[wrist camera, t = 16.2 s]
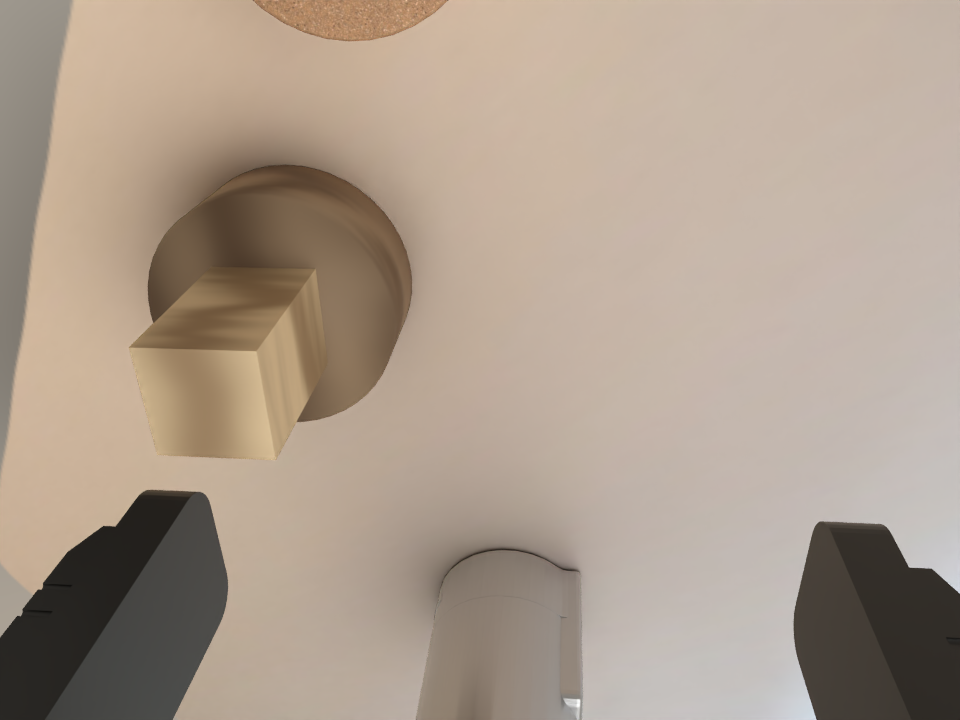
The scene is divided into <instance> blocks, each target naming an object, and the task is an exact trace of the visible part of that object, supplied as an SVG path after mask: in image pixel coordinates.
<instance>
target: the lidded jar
mask: <svg viewBox="0 0 960 720" xmlns="http://www.w3.org/2000/svg"><path fill="white" fill-rule="evenodd" d="M253 1H254V2H255V3H256V4H257V5H259V6H260V7H261V8H262V9H263V10H265V11H266V12H268V13H269V14H271V15H272V16H274V17H275V18H277V19H278V20H280V21H281V22H283V23H285V24H287V25H290V26H292V27H294V28H296V29H298V30H300V31H302V32H305V33H308V34H312V35H315V36H319V37H322V38H326V39H334V40H342V41H362V40H373V39H378V38H382V37H386V36H390V35H394V34H396V33H399V32H401V31H403V30H406V29H408V28H410V27H413V26H415V25H416V24H418V23H419V22H421V21H422V20H424V19H425V18H427V17H429V16H430V15H432V14H433V13H435V12H436V11H437V10H438V9H439V8H440V7H441V6H442V5H443V4H444V3H446V2H447V1H448V0H253Z"/></svg>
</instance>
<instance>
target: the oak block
mask: <svg viewBox="0 0 960 720" xmlns="http://www.w3.org/2000/svg"><path fill="white" fill-rule="evenodd" d="M129 350H130V354H131V358H132V361H133V365H134V369H135V373H136V376H137V380H138V384H139V388H140V391H141V395H142V399H143V403H144V406H145V410H146V414H147V418H148V421H149V425H150V429H151V433H152V437H153V440H154V444H155V448H156V452H157V455H168V456H191V457H215V458H238V459H261V460H276V459H277V457H278V455H279V453H280V451H281V450H282V448H283V446H284V444H285V442H286V440H287V438H288V437H289V435H290V433H291V431H292V429H293V427H294V425H295V424H296V422H297V420H298V418H299V416H300V414H301V412H302V411H303V409H304V407H305V405H306V403H307V401H308V399H309V398H310V396H311V394H312V392H313V390H314V388H315V386H316V385H317V383H318V381H319V379H320V377H321V375H322V373H323V372H324V370H325V368H326V366H327V364H328V361H327V353H326V345H325V337H324V330H323V322H322V314H321V306H320V299H319V291H318V283H317V275H316V269H297V268H246V267H211V268H209V269H208V270H207V271H206V272H205V273H204V274H203V275H202V276H201V277H200V278H199V279H198V280H197V281H196V282H195V283H194V284H193V285H192V286H191V287H190V288H189V289H188V290H187V291H186V292H185V293H184V294H183V295H182V296H181V297H180V298H179V299H178V300H177V301H176V302H175V303H174V304H173V305H172V306H171V307H170V308H169V309H168V310H167V311H166V312H165V313H164V314H163V315H162V316H161V317H159V318H158V319H157V320H156V321H155V322H154V323H153V324H152V325H151V326H150V327H149V328H148V329H147V330H146V331H145V332H144V333H143V334H142V335H141V336H140V337H139V338H138V339H137V340H136V341H135V342H134V343H133V344H132V345H131V346H130V347H129Z"/></svg>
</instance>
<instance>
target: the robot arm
mask: <svg viewBox="0 0 960 720" xmlns="http://www.w3.org/2000/svg"><path fill="white" fill-rule="evenodd" d="M227 594H228V579H227V572H226V568H225V564H224V560H223V556H222V551H221V547H220V543H219V539H218V535H217V531H216V526H215V522H214V518H213V514H212V510H211V506H210V502H209V500H208V498H207V497H206V495H205V494H203V493H201V492H186V491H163V490H146V491H144V492H143V493H141V494H140V495H139V496H138V497H137V499H136V500H135V501H134V503H133V504H132V505H131V507H130V508H129V509H128V511H127V512H126V513H125V515H124V516H123V517H122V519H121V520H120V522H119V523H118V524H117V526H116V527H112V526H103V527H101V528H100V529H99V530H97V531H96V532H95V533H93V534H92V535H90V536H89V537H88V538H86V539H85V540H84V541H82V542H81V543H79V544H78V545H77V546H75V547H74V548H73V549H71V550H70V551H68V552H67V554H66V555H65V556H64V557H63V559H62V560H61V561H60V562H59V564H58V565H57V566H56V567H55V569H54V570H53V571H52V573H51V574H50V575H49V576H48V578H47V579H46V580H45V581H44V583H43V588H42V590H37V592H36V593H35V594H34V595H33V597H32V598H31V599H30V600H29V602H28V603H27V604H26V606H25V607H24V608H23V613H22V615H21V616H17V617H16V618H15V619H14V621H13V622H12V623H11V625H10V626H9V627H8V628H7V630H6V631H5V632H4V633H3V635H2V636H1V637H0V720H173V718H174V716H175V714H176V712H177V710H178V708H179V706H180V703H181V701H182V699H183V697H184V695H185V693H186V691H187V689H188V687H189V685H190V683H191V681H192V679H193V677H194V675H195V673H196V671H197V669H198V667H199V665H200V663H201V661H202V659H203V657H204V655H205V653H206V651H207V649H208V647H209V645H210V643H211V641H212V639H213V637H214V635H215V633H216V630H217V628H218V626H219V624H220V622H221V620H222V617H223V614H224V611H225V607H226V602H227ZM794 640H795V647H796V653H797V657H798V661H799V664H800V668H801V671H802V674H803V677H804V680H805V684H806V687H807V690H808V693H809V697H810V700H811V703H812V706H813V709H814V713H815V716H816V719H817V720H960V594H959V593H958V592H957V591H956V590H955V589H954V588H953V587H951V586H950V585H949V584H948V583H947V582H946V581H945V580H944V579H942V578H941V577H940V576H939V575H938V574H937V573H936V572H935V571H934V570H932V569H925V568H909V567H908V565H907V563H906V561H905V559H904V557H903V555H902V553H901V551H900V549H899V548H898V546H897V544H896V542H895V540H894V538H893V536H892V534H891V533H890V531H889V530H888V529H887V527H885V526H884V525H882V524H866V523H844V522H819V523H817V525H816V526H815V528H814V530H813V534H812V537H811V542H810V546H809V550H808V554H807V559H806V563H805V567H804V572H803V576H802V580H801V584H800V589H799V593H798V597H797V601H796V606H795V612H794ZM582 708H583V673H582V621H581V575H580V573H579V572H576V571H566V570H562V569H560V568H558V567H556V566H555V565H553V564H552V563H550V562H548V561H547V560H545V559H542V558H540V557H537V556H535V555H532V554H528V553H524V552H519V551H509V550H497V551H488V552H483V553H480V554H476V555H473V556H471V557H469V558H467V559H465V560H463V561H461V562H460V563H458V564H457V565H456V566H455V567H454V568H452V569H451V570H450V572H449V573H448V574H447V576H446V577H445V578H444V581H443V583H442V586H441V589H440V594H439V599H438V603H437V606H436V611H435V617H434V625H433V631H432V636H431V641H430V646H429V652H428V657H427V662H426V668H425V673H424V678H423V683H422V689H421V694H420V699H419V705H418V710H417V715H416V720H582Z"/></svg>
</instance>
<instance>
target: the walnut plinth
mask: <svg viewBox="0 0 960 720" xmlns="http://www.w3.org/2000/svg"><path fill="white" fill-rule="evenodd" d="M211 267H246V268H297V269H316V275H317V283H318V291H319V299H320V306H321V314H322V322H323V330H324V337H325V345H326V353H327V361H328V364H327V366H326V368H325V370H324V372H323V373H322V375H321V377H320V379H319V381H318V383H317V385H316V386H315V388H314V390H313V392H312V394H311V396H310V398H309V399H308V401H307V403H306V405H305V407H304V409H303V411H302V412H301V414H300V416H299V418H298V420H297V422H305V421H312V420H318V419H322V418H325V417H329V416H332V415H334V414H337V413H339V412H342V411H344V410H346V409H347V408H349V407H351V406H352V405H354V404H356V403H357V402H358V401H359V400H361V399H362V398H363V397H364V396H366V395H367V394H368V392H369V391H370V390H371V389H372V388H373V387H374V386H375V385H376V383H377V382H378V380H379V379H380V377H381V376H382V374H383V372H384V370H385V368H386V366H387V363H388V361H389V359H390V356H391V354H392V351H393V349H394V346H395V344H396V341H397V339H398V336H399V334H400V332H401V329H402V327H403V324H404V322H405V319H406V316H407V313H408V310H409V306H410V301H411V294H412V276H411V269H410V263H409V260H408V256H407V253H406V250H405V247H404V245H403V243H402V240H401V238H400V236H399V234H398V233H397V231H396V229H395V227H394V226H393V224H392V223H391V221H390V220H389V219H388V217H387V216H386V215H385V213H384V212H383V211H382V210H381V209H380V208H379V207H378V206H377V205H376V204H375V203H374V202H373V201H372V200H371V199H370V198H369V197H368V196H366V195H365V194H364V193H363V192H361V191H360V190H359V189H357V188H356V187H354V186H353V185H351V184H349V183H348V182H346V181H344V180H342V179H340V178H338V177H336V176H334V175H332V174H329V173H326V172H323V171H320V170H317V169H312V168H307V167H302V166H292V165H278V166H268V167H263V168H258V169H254V170H251V171H249V172H246V173H243V174H241V175H239V176H237V177H235V178H234V179H232V180H230V181H229V182H227V183H226V184H225V185H223V186H222V187H221V188H220V189H218V190H217V191H216V192H214V193H213V194H212V195H210V196H209V197H208V198H207V199H205V200H204V201H203V202H201V203H200V204H199V205H198V206H196V207H195V208H194V209H192V210H191V211H190V212H189V213H187V214H186V215H185V216H183V217H182V218H181V219H180V220H178V221H177V222H176V223H175V224H174V225H173V226H172V227H171V228H170V230H169V231H168V232H167V233H166V234H165V236H164V237H163V239H162V240H161V242H160V243H159V245H158V248H157V250H156V252H155V254H154V256H153V260H152V263H151V267H150V271H149V280H148V301H149V306H150V312H151V316H152V319H153V323H154V322H155V321H156V320H157V319H158V318H159V317H161V316H162V315H163V314H164V313H165V312H166V311H167V310H168V309H169V308H170V307H171V306H172V305H173V304H174V303H175V302H176V301H177V300H178V299H179V298H180V297H181V296H182V295H183V294H184V293H185V292H186V291H187V290H188V289H189V288H190V287H191V286H192V285H193V284H194V283H195V282H196V281H197V280H198V279H199V278H200V277H201V276H202V275H203V274H204V273H205V272H206V271H207V270H208V269H209V268H211Z"/></svg>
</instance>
